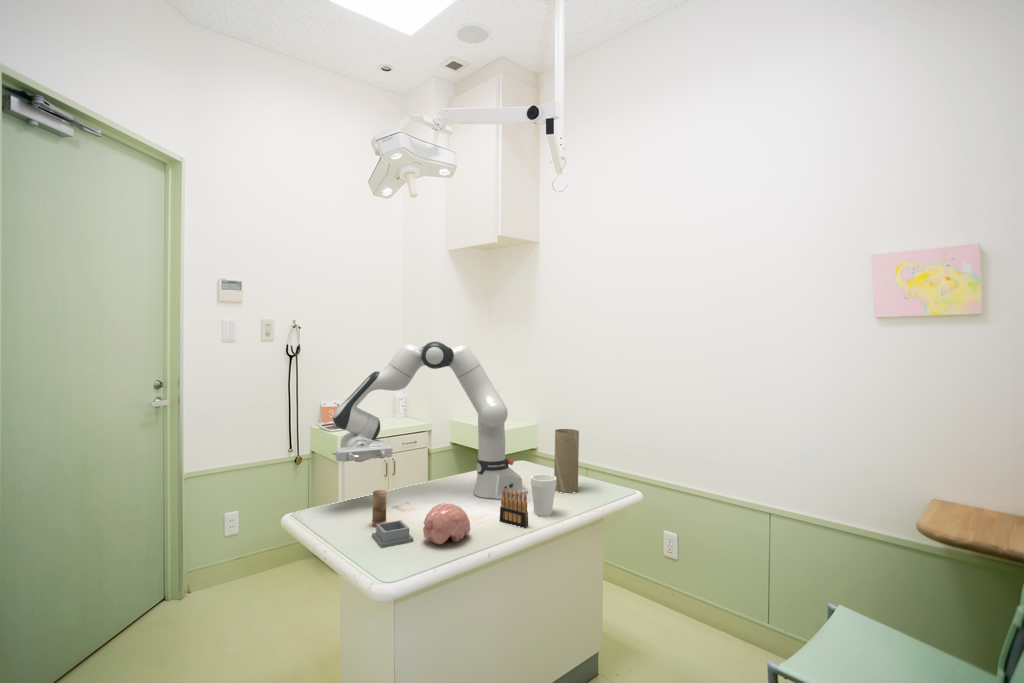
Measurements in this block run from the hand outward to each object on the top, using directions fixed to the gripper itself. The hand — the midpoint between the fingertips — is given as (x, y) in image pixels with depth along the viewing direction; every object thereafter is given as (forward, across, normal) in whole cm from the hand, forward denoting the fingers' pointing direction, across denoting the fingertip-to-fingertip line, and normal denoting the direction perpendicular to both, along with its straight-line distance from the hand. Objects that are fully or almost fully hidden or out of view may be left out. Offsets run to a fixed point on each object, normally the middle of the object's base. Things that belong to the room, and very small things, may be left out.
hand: (369, 457), depth 179 cm
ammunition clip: (+33, +40, +20) cm, 56 cm away
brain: (+35, +15, +20) cm, 43 cm away
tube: (+10, +80, +19) cm, 83 cm away
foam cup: (+29, +56, +20) cm, 66 cm away
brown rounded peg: (+12, 0, +20) cm, 24 cm away
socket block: (+26, 0, +20) cm, 33 cm away
